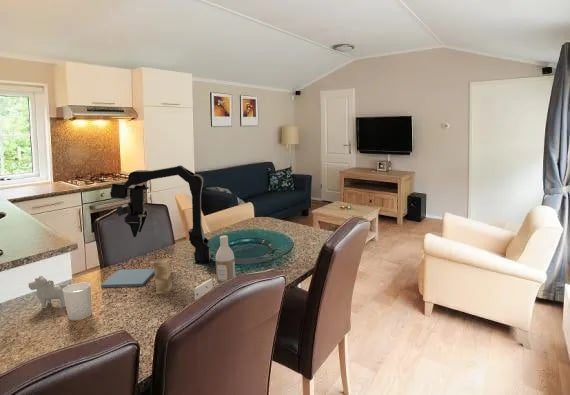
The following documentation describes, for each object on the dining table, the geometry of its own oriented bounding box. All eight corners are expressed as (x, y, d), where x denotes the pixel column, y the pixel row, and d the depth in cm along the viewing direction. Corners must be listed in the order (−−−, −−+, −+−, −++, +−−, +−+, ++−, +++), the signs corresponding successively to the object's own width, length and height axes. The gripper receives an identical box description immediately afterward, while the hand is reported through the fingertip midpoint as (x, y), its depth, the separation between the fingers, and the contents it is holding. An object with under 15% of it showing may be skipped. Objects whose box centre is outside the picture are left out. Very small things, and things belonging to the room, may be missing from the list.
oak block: (172, 288, 143) (169, 258, 141) (168, 293, 139) (166, 262, 137) (160, 288, 143) (157, 258, 141) (156, 293, 139) (153, 262, 137)
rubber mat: (156, 270, 162) (156, 268, 161) (142, 286, 146) (142, 283, 146) (119, 271, 162) (118, 269, 161) (101, 287, 146) (101, 284, 146)
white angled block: (224, 301, 125) (210, 280, 124) (200, 315, 127) (186, 293, 126) (227, 297, 129) (213, 275, 128) (203, 310, 131) (189, 289, 130)
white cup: (99, 311, 126) (95, 283, 124) (79, 323, 118) (75, 293, 116) (81, 308, 128) (77, 281, 126) (60, 319, 121) (56, 290, 119)
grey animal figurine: (37, 302, 134) (33, 274, 132) (74, 301, 134) (70, 273, 132) (28, 310, 128) (23, 280, 126) (66, 308, 129) (62, 278, 127)
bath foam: (214, 290, 141) (210, 238, 137) (222, 282, 147) (219, 233, 144) (230, 291, 139) (228, 239, 135) (238, 284, 145) (236, 234, 142)
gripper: (123, 196, 172) (123, 229, 174) (111, 202, 154) (111, 239, 156) (148, 196, 174) (148, 229, 176) (139, 202, 156) (139, 239, 158)
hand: (137, 234), depth 166 cm, fingers open, 9 cm apart
